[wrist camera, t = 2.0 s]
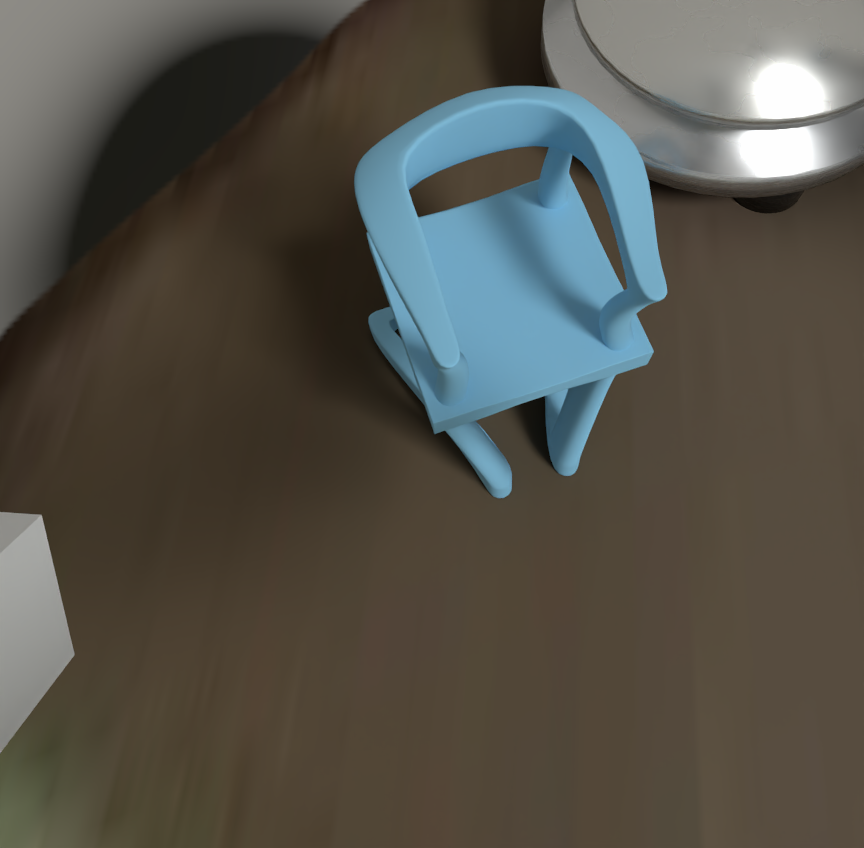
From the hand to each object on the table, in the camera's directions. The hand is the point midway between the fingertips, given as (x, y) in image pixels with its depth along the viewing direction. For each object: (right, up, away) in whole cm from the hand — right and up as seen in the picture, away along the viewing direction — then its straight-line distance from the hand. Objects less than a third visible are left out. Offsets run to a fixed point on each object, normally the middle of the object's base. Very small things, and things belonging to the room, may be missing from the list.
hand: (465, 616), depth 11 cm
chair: (+2, +4, +17) cm, 18 cm away
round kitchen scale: (+12, +18, +21) cm, 30 cm away
